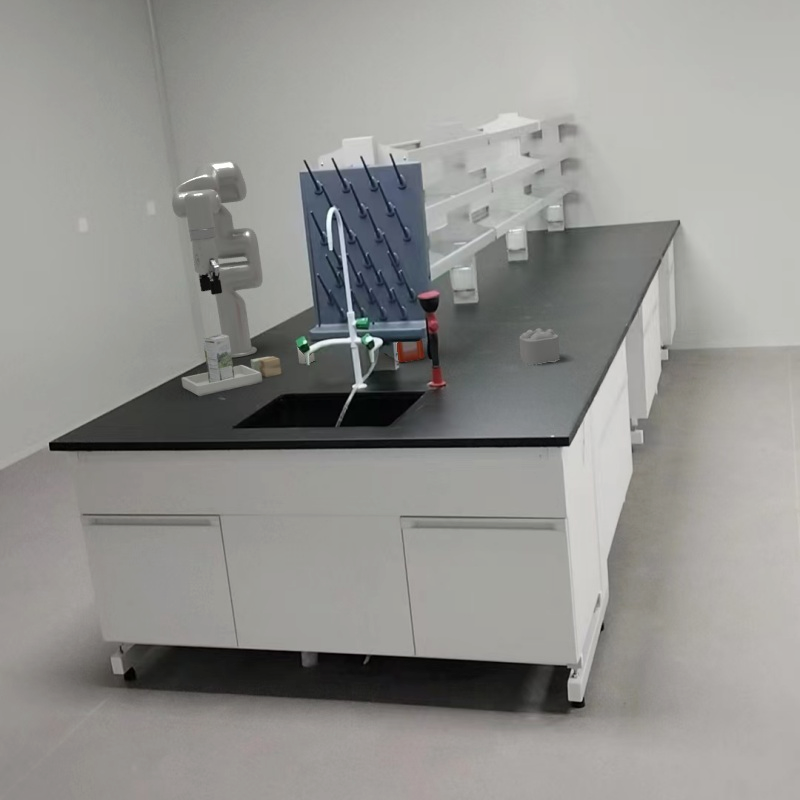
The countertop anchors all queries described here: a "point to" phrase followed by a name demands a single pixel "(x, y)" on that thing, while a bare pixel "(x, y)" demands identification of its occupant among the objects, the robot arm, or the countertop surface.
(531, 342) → the lumpy-topped squat cylinder
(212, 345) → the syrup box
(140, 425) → the countertop surface
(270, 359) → the beech cube
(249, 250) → the robot arm
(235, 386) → the grey tray
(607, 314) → the countertop surface
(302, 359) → the pale grey block
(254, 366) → the sage block
